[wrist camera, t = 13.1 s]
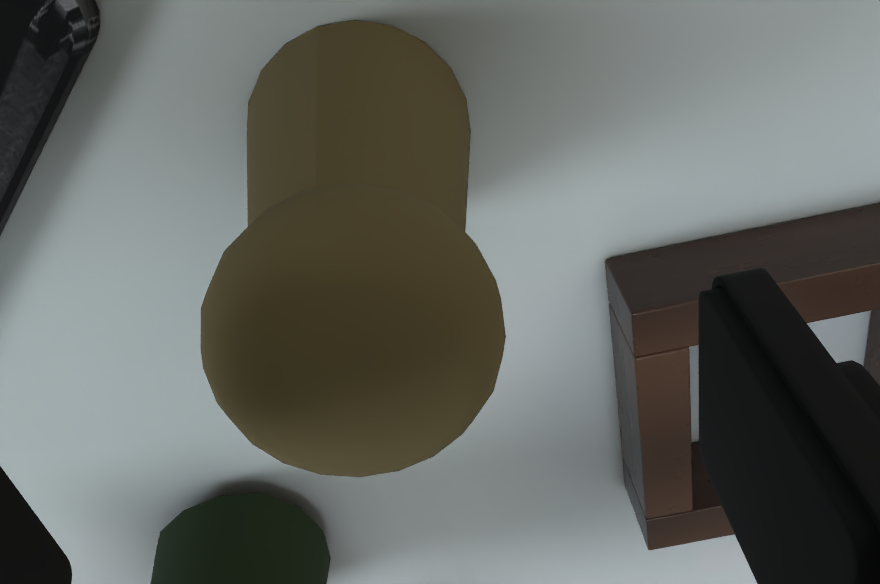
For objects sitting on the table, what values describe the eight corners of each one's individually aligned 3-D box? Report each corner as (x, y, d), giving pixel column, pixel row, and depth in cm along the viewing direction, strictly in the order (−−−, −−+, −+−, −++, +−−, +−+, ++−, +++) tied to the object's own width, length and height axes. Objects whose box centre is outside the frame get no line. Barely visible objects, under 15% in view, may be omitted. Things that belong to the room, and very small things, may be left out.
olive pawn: (467, 229, 23) (531, 521, 14) (259, 235, 23) (187, 539, 14) (474, 19, 20) (563, 221, 11) (232, 20, 20) (114, 233, 11)
